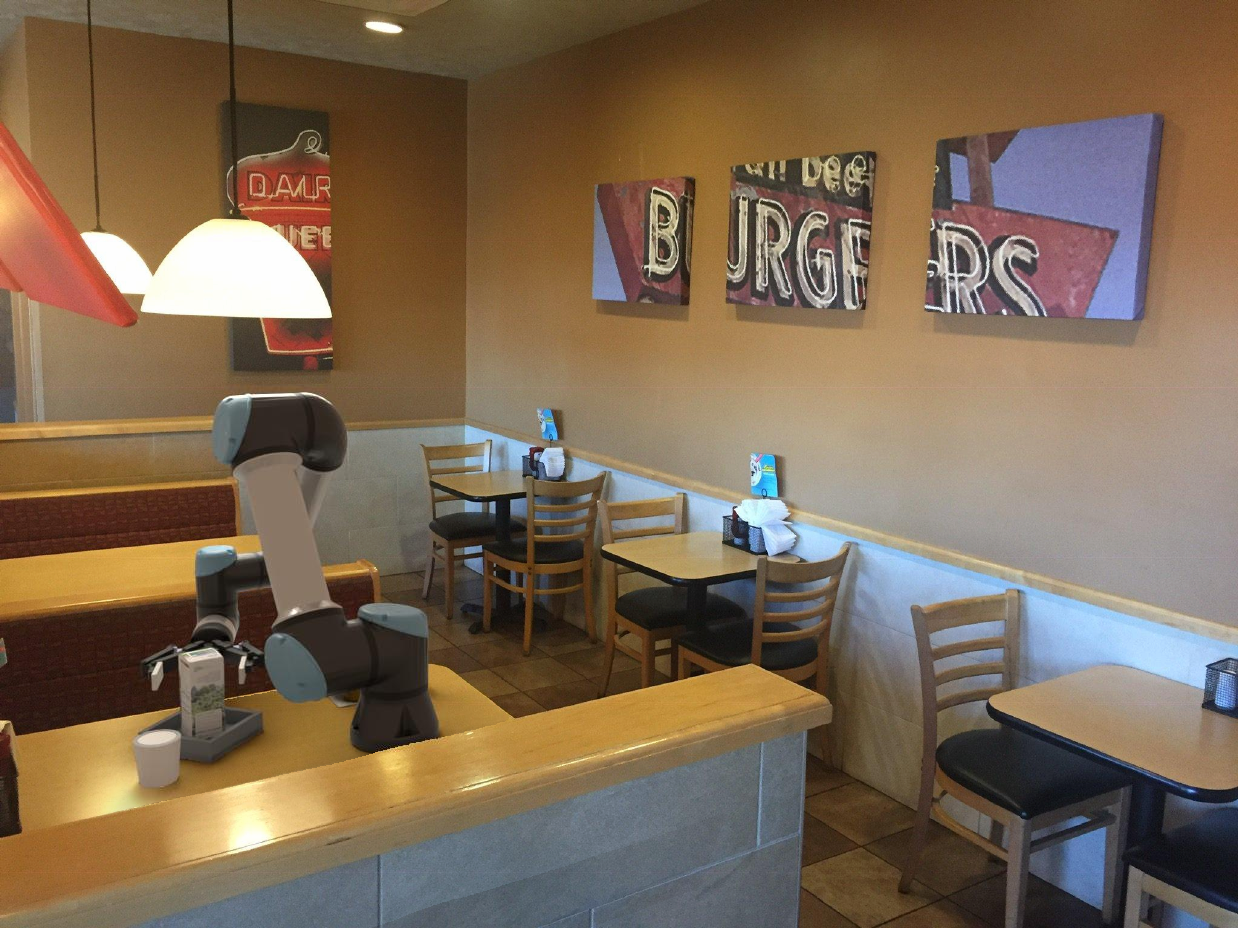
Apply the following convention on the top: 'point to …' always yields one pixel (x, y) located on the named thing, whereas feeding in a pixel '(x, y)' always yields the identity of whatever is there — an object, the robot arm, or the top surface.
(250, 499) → the robot arm
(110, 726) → the top surface
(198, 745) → the tray
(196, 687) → the syrup box
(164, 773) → the white cup
